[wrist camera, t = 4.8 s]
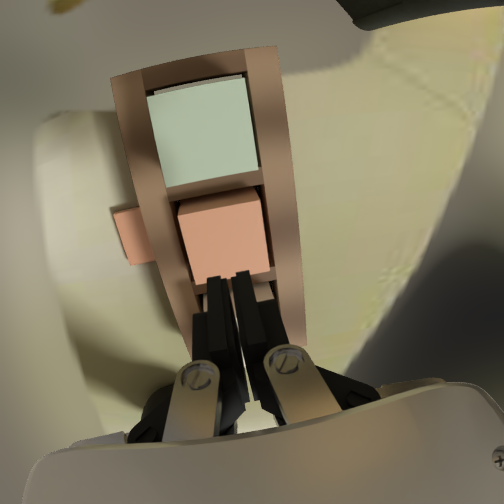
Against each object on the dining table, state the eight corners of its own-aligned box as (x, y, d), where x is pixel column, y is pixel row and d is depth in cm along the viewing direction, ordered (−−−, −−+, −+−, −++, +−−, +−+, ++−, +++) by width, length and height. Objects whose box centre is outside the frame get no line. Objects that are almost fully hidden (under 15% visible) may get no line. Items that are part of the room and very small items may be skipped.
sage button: (159, 96, 16) (146, 97, 13) (237, 81, 16) (244, 77, 13) (174, 169, 18) (166, 187, 15) (248, 154, 19) (258, 169, 15)
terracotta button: (182, 193, 20) (177, 215, 17) (250, 180, 21) (260, 200, 17) (197, 253, 23) (196, 285, 19) (259, 241, 23) (269, 270, 19)
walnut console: (123, 80, 17) (110, 78, 14) (266, 52, 17) (276, 45, 14) (194, 341, 27) (194, 366, 24) (297, 321, 27) (306, 345, 24)
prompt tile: (115, 212, 21) (113, 214, 20) (147, 204, 21) (146, 207, 20) (131, 262, 22) (130, 265, 22) (162, 256, 23) (161, 259, 22)
